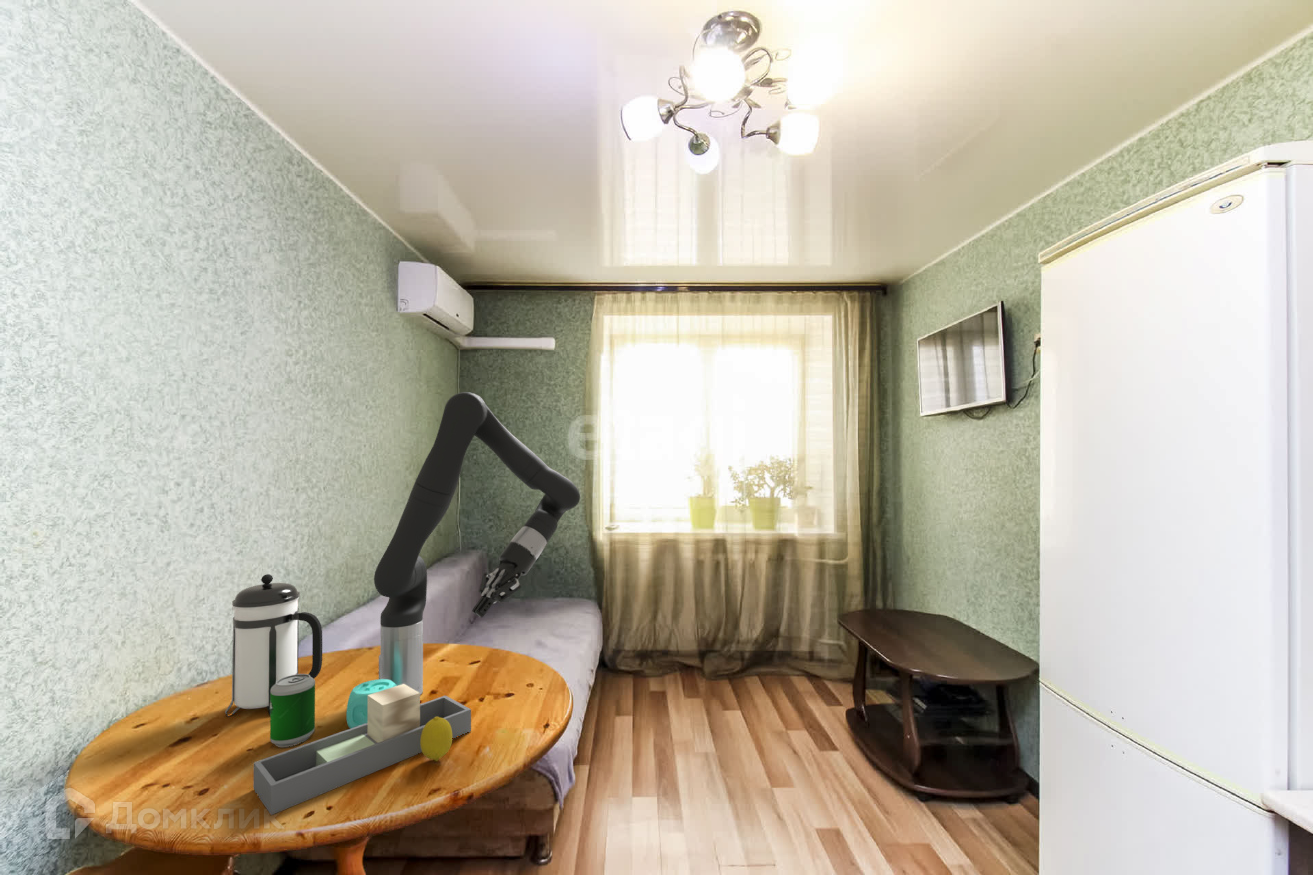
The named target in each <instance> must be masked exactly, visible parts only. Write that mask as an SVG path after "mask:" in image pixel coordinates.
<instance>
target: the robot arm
mask: <svg viewBox="0 0 1313 875" xmlns="http://www.w3.org/2000/svg"><path fill="white" fill-rule="evenodd" d="M474 436H475V437H477V438H478V439H479V440H480V441H482V443H484V444H485V445H486V446H487V447H488V448H490V450H491V451H492V452H493V453H494V454H495V455H496V456H497V458H499V460H501V462H502V463H503V464H504V465H505V466H506V468H508V469H509V471H510V472H512V474H514V476H515V477H516V478H518V479H519V480H520V481H521V482H523V483H524V484H525V485H526V486H527V487H528V488H530V489H531V490H536V491H537V490H538V491H540V492H542V493H543V494H544V495H543V496H542V498H541V500H540V501H539V503H538V505H537V507H536V508H535V510H534V512H533V513H532V514H531V516H530V517H529V518H528V519H527V521H526V522H525V523H524V524H523V526H522V527H521V528H520V529H519V530H518V531H517V533H516V534H515V535H514V536H513V538H512V539H511V540H510V541H509V543H508V544H507V546H506V547H505V548H504V550H503V551H502V552H501V554H500V555H499V557H498V559H499V564H498V565H497V566H496V567H495V568H494V569H493V571H492V572H489V573H488V572H484V573H483V575H482V578H481V581H480V586H479V590H478V592H479V594H480V595H481V597H480V598H479V599H478V601H477V602H476V604H475V605H474V606H473V608H472V610H471V612H472V613H473V614H474V615H475V616H477V617H480V618H483V617H484V616H485V614H487V613H488V611H489V610H490V608H491V607H492V605H493V604H496V603H497V602H499V603H503V601H505V600H507V599H508V598H509V597H510V596H512V595H513V594H514V593H515V592H517V591H519V590H520V589H521V588H522V584H520V581H519V580H520V578H521V576H526V575H527V574H528V573H529V571H530V569H531V568H532V567H533V565H535V562H536V561H537V559H538V558H539V557H540V555H541V554H542V552H543V551H544V550H545V547H546V545H547V544H548V543H549V541H550V539H551V538H552V537H553V535H555V532H556V530H557V529H558V523H559V521H560V519H561V518H562V517H563V515H564V514H565V513H566V512H568V511H570V510H572V509H574V508H575V507H577V506H578V505H579V502H580V501H581V500H580V499H581V493H580V491H579V488H578V487H577V486H576V484H574V482H573V481H571V479H569V478H567V477H565V476H564V475H563V474H561V473H559V472H558V471H556V470H554V469H553V468H551V467H549V466H548V465H547V463H545V462H544V461H543V460H542V459H541V458H540V457H539V456H537V454H535V453H534V451H532V450H531V449H530V448H528V446H526V444H524V443H523V442H522V441H520V440H519V439H518V438H517V437H515V436H514V435H513V433H511V432H510V431H509V429H507V428H506V427H505V426H504V425H503V423H501V422H500V421H499V419H498V418H497V417H496V415H494V413H493V412H492V410H491V409H490V407H488V406H487V404H486V402H485V401H484V399H483V398H482V397H481V396H480V395H478V394H477V393H474V392H467V391H463V392H458V393H456V394H453V395H452V396H450V398H449V399H448V400H447V402H446V404H445V406H444V410H443V412H442V417H441V421H440V424H439V428H438V431H437V434H436V437H435V440H434V443H433V445H432V447H431V449H430V450H429V453H428V454H427V457H426V458H425V460H424V462H423V464H422V466H421V469H420V471H419V472H418V475H417V476H416V479H415V482H414V484H413V486H412V489H411V490H410V493H409V496H408V499H407V501H406V505H405V507H404V509H403V511H402V514H401V516H400V519H399V521H398V524H397V527H396V529H395V532H394V534H393V536H392V538H391V540H390V542H389V543H388V546H386V549H385V551H384V553H383V554H382V556H381V559H380V561H379V563H378V564H377V566H376V568H375V571H374V574H373V575H374V577H373V581H374V582H373V583H374V587H375V589H376V591H377V592H378V593H379V595H381V596H382V597H385V598H388V601H387V603H386V605H385V607H384V608H383V610H382V611H381V613H380V621H379V622H380V654H379V655H378V679H387V680H391V681H393V682H394V683H395V684H396V685H397V686H398V685H402V684H405V685H407V686H409V687H410V688H412V689H414V690H416V691H417V692H419V693H420V696H421V695H422V694H423V690H424V689H423V688H424V687H423V686H424V683H423V681H424V631H423V630H424V629H423V628H424V624H423V622H424V617H423V616H424V611H425V609H426V604H427V590H428V571H427V566H426V563H425V561H424V559H423V558H422V556H421V555H420V553H421V551H422V548H423V547H424V545H425V543H426V542H427V540H428V538H429V537H430V536H431V534H432V533H433V532H434V531H435V529H436V528H437V527H438V525H439V524H440V522H442V520H443V518H444V517H445V515H446V513H447V511H448V509H449V508H450V506H451V502H452V500H453V497H454V495H455V493H456V490H457V487H458V483H459V480H460V476H461V474H462V473H461V472H462V467H463V462H464V459H465V455H466V453H467V451H468V449H469V446H470V444H471V442H472V440H473V438H474Z"/></svg>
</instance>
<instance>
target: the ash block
mask: <svg viewBox="0 0 1313 875" xmlns="http://www.w3.org/2000/svg"><path fill="white" fill-rule="evenodd" d="M420 704H421V695H420V693H419V692H417V691H416V690H414V689H412V688H410V687H409V686H407V685H405V684H402V685H398V686H395V687H392V688H389V689H386V690H383V691H379V692H376V693H373V694H370V695H368V729H367V735H368V736H370V737H371V738H372V739H374V740H375V741H376V742H377V743H379V742H382V741H384V740H387V739H390V738H392V737H395V736H397V735H400V734H403V733H405V732H408V731H411V730H413V729H416V728H418V727H420Z"/></svg>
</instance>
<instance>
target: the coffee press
mask: <svg viewBox="0 0 1313 875" xmlns="http://www.w3.org/2000/svg"><path fill="white" fill-rule="evenodd" d="M273 580H274V577H273V575H271V574H268V573H267V574H264V575H263V576H262V577H261V579H260V581H261V583H262V584H257V585H252V586H249V587H246V588H244V589H242V590H241V591H239V592H238V593H237V594H236V595H235V598H234V599H233V601H231V602H232V603H231V606H232V608H231V610H232V611H233V612H234V614H233V618H232V662H231V663H232V666H231V668H232V669H231V670H232V671H231V679H232V680H231V701H230V704H229V705H228V707H226V709H225V711H224V714H225V715H226V716H227V717H229V716H228V715H227V714H228V712H229V710H230V709H231V708H232V707H233V705H235V706H236V707H235V709H233V711H232V712H233V713H232V712H231V713H232V714H233V715H235V713H236V712H238V711H239V710H241V709H246V710H252V709H253V710H256V709H262V708H267V712H268V716H270V697H271V688H272V686H273V685H275V684H276V681H278V680H279V679H281V678H284V677H287V676H291V675H296V674H299V621H301V622H302V621H303V622H306V623H308V625H309V626H310V628H311V634H312V642H311V643H312V654H311V655H312V657H311V658H312V659H311V661H312V664H311V669H310V671H309V673H307V674H308V675H310V677H312V678H314V679H316V678H317V677H318V675H319V674H320V672H321V670H322V666H323V628H322V624H321V621H320V620H319V619H318V617H317V616H316V615H314V614H313V613H310V612H306V611H301V612H299V610H300V609H299V606H298V604H299V603H298V600H299V599H300V594H301V593H300V591H298V589H297V588H296V586H294V585H293V584H291V583H286V582H273ZM271 582H272V583H271Z"/></svg>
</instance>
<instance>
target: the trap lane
mask: <svg viewBox="0 0 1313 875" xmlns="http://www.w3.org/2000/svg"><path fill="white" fill-rule="evenodd" d="M436 716H438V717H440V718H444V719H446V720H447V721H448V722H449V724H450V726H451V729H452V738H455V739H457V738H458V737H457V736H460V735H462V734H464V735H466V734H465V733H467V732H469V733H471V732H472V709H471V708H469V707H467V706H465V705H464V704H463V703H460V702H458V701H456V700H455V699H453V698H451V697H449V696H447V695H442V696H440V697H437V698H434V699H432V700H429V701H428V700H427V701H425V702H422V703H420V727H418V728H416V729H413V730H411V731H408V732H405V733H403V734H400V735H397V736H395V737H392V738H390V739H387V740H384V741H382V742H379V743H377V742H376V741H375V740H374V739H372V738H371V737H370V736H368V735H367V729H368V723H365V724H362V725H359V726H357V727H354V728H351V729H350V728H349V729H345V730H343V731H340V732H337V733H333V734H332V735H329V736H326V737H322V738H320V739H317V740H314V741H312V742H309V743H305V744H303V745H300V746H296V747H294V748H291V749H289V750H286V751H282V752H280V753H277V754H275V755H272V756H268V757H265V758H263V759H259V760H258V761H255V762H253V779H252V780H253V789H254V790H255V791H254V790H253V789H252V790H253V791H254V793H255V794H256V793H257V794H258V795H257V794H256V795H257V797H258V796H259V797H258V799H259V800H260V801H261V802H262V804H263V806H264V807H265V808H266V810H267V812H269V814H270V816H272V815H275V814H277V813H280V812H283V811H285V810H286V809H289V808H292V807H294V806H296V805H298V804H299V805H300V804H301V803H303V802H306V801H308V800H311V799H313V798H316V797H319V796H320V795H323V794H325V793H327V792H330V791H332V790H334V789H336V788H339V787H342V786H345V785H347V784H349V783H352V782H354V781H356V780H359V779H360V778H363V777H366V776H368V775H371V774H374V773H375V772H377V771H380V770H383V769H385V768H388V767H389V766H390V767H391V766H392V765H394V764H397V763H399V762H402V761H404V760H406V759H409V758H411V757H414V756H417V755H418V753H419V754H421V753H423V752H422V750H421V745H420V739H421V734H422V731H423V728H424V726H425V725H426V724H427V723H428V722H429V721H430V720H432V719H434V718H435V717H436ZM470 731H471V732H470ZM467 734H468V733H467ZM462 736H463V735H462ZM456 737H457V738H456ZM460 737H461V736H460Z"/></svg>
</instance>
